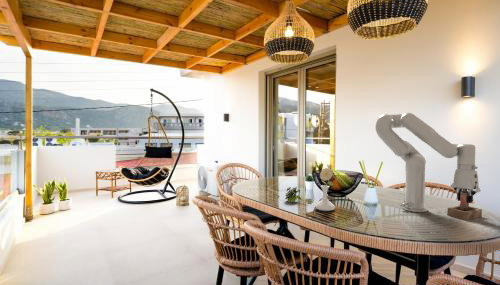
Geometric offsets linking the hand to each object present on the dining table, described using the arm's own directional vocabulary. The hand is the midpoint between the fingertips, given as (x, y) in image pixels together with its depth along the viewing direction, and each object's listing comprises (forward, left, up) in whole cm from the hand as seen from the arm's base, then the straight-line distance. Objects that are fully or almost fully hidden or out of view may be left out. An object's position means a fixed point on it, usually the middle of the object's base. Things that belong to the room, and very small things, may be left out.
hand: (464, 201), depth 150 cm
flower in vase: (-61, +38, -8) cm, 72 cm away
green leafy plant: (-68, +62, -8) cm, 92 cm away
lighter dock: (0, 0, -8) cm, 8 cm away
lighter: (0, 0, -3) cm, 3 cm away
